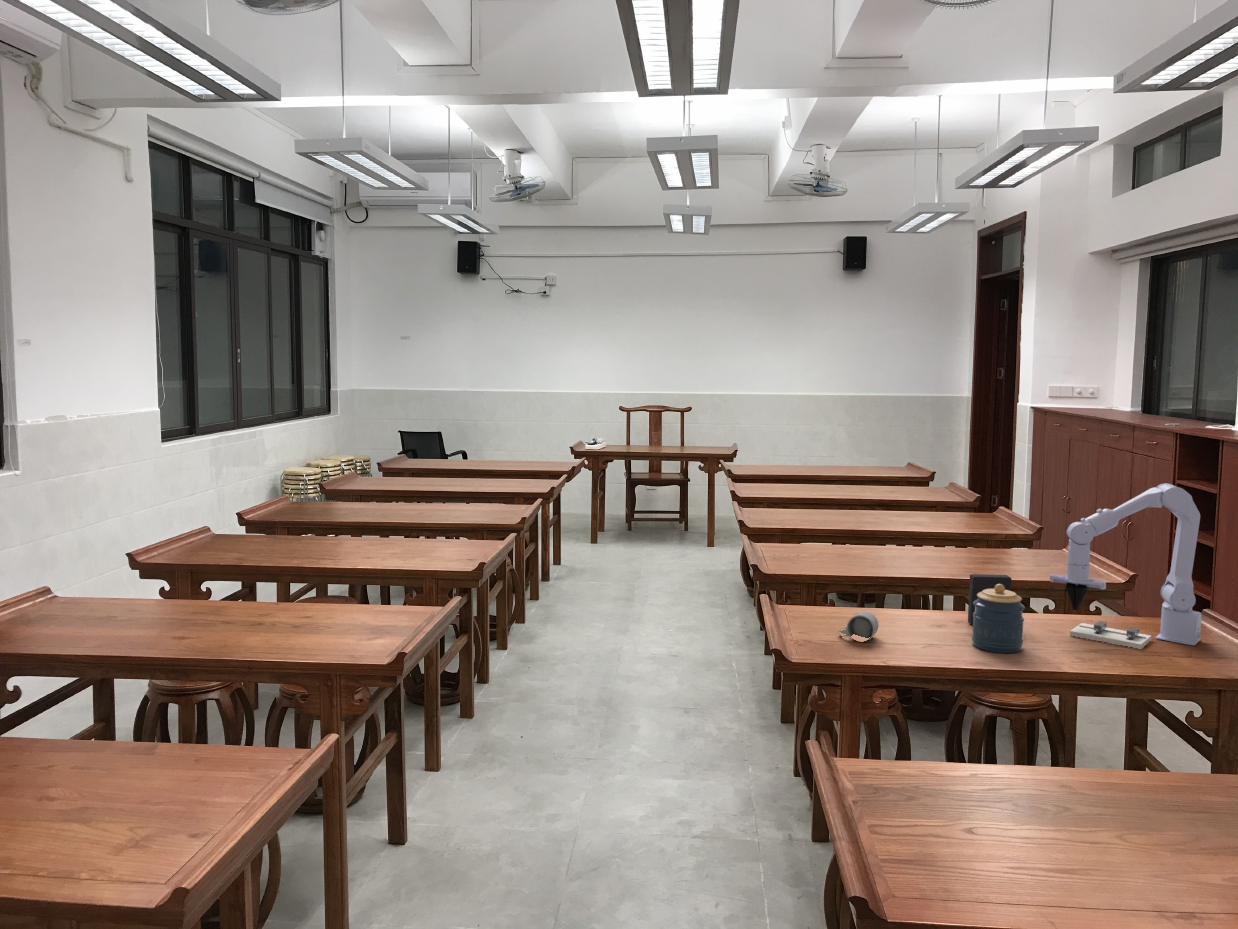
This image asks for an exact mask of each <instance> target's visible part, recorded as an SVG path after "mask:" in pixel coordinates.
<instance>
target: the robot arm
mask: <svg viewBox="0 0 1238 929" xmlns="http://www.w3.org/2000/svg"><path fill="white" fill-rule="evenodd" d="M1163 507H1165V508H1166V509H1168V510H1169V511H1170V512H1171V513H1172V514H1173V515H1174V516H1175V517H1176V518H1177V522H1176V523H1177V524H1176V530H1175V537H1174V543H1173V551H1172V556H1171V557H1172V558H1171V564H1170V565H1171V566H1170V571H1169V573H1168V574H1167V576H1166V580H1165V583H1164V584H1163V585H1162V586H1161V587H1160V588H1161V589H1160V596H1161V598H1162V599H1163V600H1164V601H1163V603H1161V614H1160V628H1159V629H1160V630H1159V631H1160V632H1159V633H1158V634H1157V635H1156V636H1155V639H1156V640H1160V641H1161V640H1163V641H1167V642H1173V643H1177V644H1184V645H1189V646H1196V645H1197V643H1199V641H1201V630H1202V629H1201V628H1202V613H1201V612H1200V611H1197V610H1193V607H1194V606H1195V605H1196V601H1197V600H1196V596H1195V593H1194V587H1195V586H1194V582H1193V579H1192V578H1193V577H1192V575H1193V568H1194V561H1195V555H1196V548H1197V542H1198V534H1199V530H1200V529H1199V528H1200V523H1201V522H1200V521H1201V514H1200V511H1199V509H1198V508H1197V505H1196V504H1195V502H1194V499H1193V496H1192V495H1191V494H1190V493H1189V492H1188V491H1186V490H1185V489H1184V488H1182V487H1178V486H1175V485H1174V484H1172V483H1169V482H1168V483H1165V482H1164V483H1161V484H1159V485H1157V486H1156V487H1155V486H1154V487H1151V488H1148V489H1147V490H1145V491H1144V492H1142V493H1140V494H1139V495H1136V496H1135V497H1133V498H1131V499H1129V500H1128V501H1126V502H1124V503H1122V504H1120V505H1119V506H1116V507H1115V508H1113V509H1110V508H1104V509H1102V508H1098V509H1096V511H1095V513H1094V514H1091V515H1089V516H1088V517H1086V518H1085V517H1082V518H1080V521H1075V522H1072V523H1071V524H1069V526H1068V527H1067V529H1066V536H1067V537H1068V538H1069V539H1068V547H1067V559H1066V561H1067V562H1066V563H1067V564H1066V575H1061V574H1050V575H1049V582H1051V583H1060V584H1066V585H1064V586H1065V591H1066V592H1067V595H1068V597H1069V600H1070V603H1071V608H1072V610H1073V611H1079V610H1080V608H1081V606H1082V603H1083V600H1084V597H1085V595H1086V594H1087V591H1088V590H1089V589H1090V588H1094V589H1100V590H1101V591H1102V590H1103V591H1104V590H1106V589H1107V582H1106V581H1104V580H1103V581H1100V580H1097V579H1092V578H1090V561H1091V560H1090V559H1091V558H1090V557H1091V542H1092V541H1093V539H1094V537H1097V536H1099V535H1102V534H1104V533H1105V532H1107V531H1109V530H1112V529H1113V528H1115V527H1117V526H1118V524H1119V523H1120V522H1119V521H1120V520H1122V519H1124V518H1126V517H1128V516H1130V515H1133V514H1135V513H1137V512H1139V511H1142V510H1144V509H1146V508H1158V509H1159V508H1160V509H1161V508H1163Z"/></svg>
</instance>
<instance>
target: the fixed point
mask: <svg viewBox="0 0 1238 929" xmlns="http://www.w3.org/2000/svg"><path fill="white" fill-rule="evenodd" d="M1126 631H1127V634H1126V636H1127V637H1129V638H1131V637H1133V638H1135V637H1136V636H1137V635H1138V634H1139V633H1140V628H1138V627H1134V626H1133V627H1132V626H1131V627H1130V628H1129V629H1127V630H1126Z"/></svg>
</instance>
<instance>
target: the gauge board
mask: <svg viewBox="0 0 1238 929" xmlns="http://www.w3.org/2000/svg"><path fill="white" fill-rule="evenodd" d="M1126 634H1127V630H1122V629H1116V628H1112V627H1107V628H1106V629H1104V630H1103V631H1102V632H1100V631H1098V632H1096V631H1095V630H1094V624H1089V623H1085V622H1081V623H1079V624H1078V625H1077V626H1075V627H1074V628H1072V629H1071V630H1070V631H1069V637H1073V636H1075V637H1074V638H1078V637H1080V638H1079V639H1083V638H1086V639H1085V640H1088V639H1092V640H1091V641H1093V640H1098V641H1104V642H1109V643H1114V644H1119V645H1123V646H1122V647H1124V646H1128V647H1127V648H1130V647H1133V648H1132V649H1135V648H1138V649H1137V650H1140V649H1141V650H1142V649H1143V648H1145V647H1144V646H1145V645H1146V644H1147V643H1148V642H1149V641H1150V640H1151V641H1152V635H1149V634H1144V633H1140V632H1139V634H1138V635H1137V636H1136V637H1135V638H1133V637H1131V638H1129V637H1127V636H1126ZM1098 641H1097V642H1098ZM1151 641H1150V642H1151ZM1104 642H1103V643H1104ZM1150 642H1149V643H1150ZM1109 643H1108V644H1109ZM1149 643H1148V644H1149ZM1114 644H1113V645H1114ZM1148 644H1147V645H1148ZM1119 645H1118V646H1119ZM1147 645H1146V646H1147Z"/></svg>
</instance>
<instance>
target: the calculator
mask: <svg viewBox="0 0 1238 929" xmlns="http://www.w3.org/2000/svg"><path fill="white" fill-rule="evenodd" d="M968 584H969V589H968V609H967V611H968V612H967V623H968V624H970V625H971V626H973V613H974V612H975V605H974V604H973V602H974V601H975V600H977V599H978V598H979V597H978V596H977V594H978V593H979V592H982V591H983V590H985V589H994V587H995V585H997V584H1002V585H1003V586H1004V587H1005V590H1009V591H1011V590H1012V577H1010V576H1009V575H1008V574H989V573H988V574H987V573H986V574H985V573H984V574H983V573H982V574H981V573H977V574H976V573H971V574H969V582H968Z"/></svg>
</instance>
